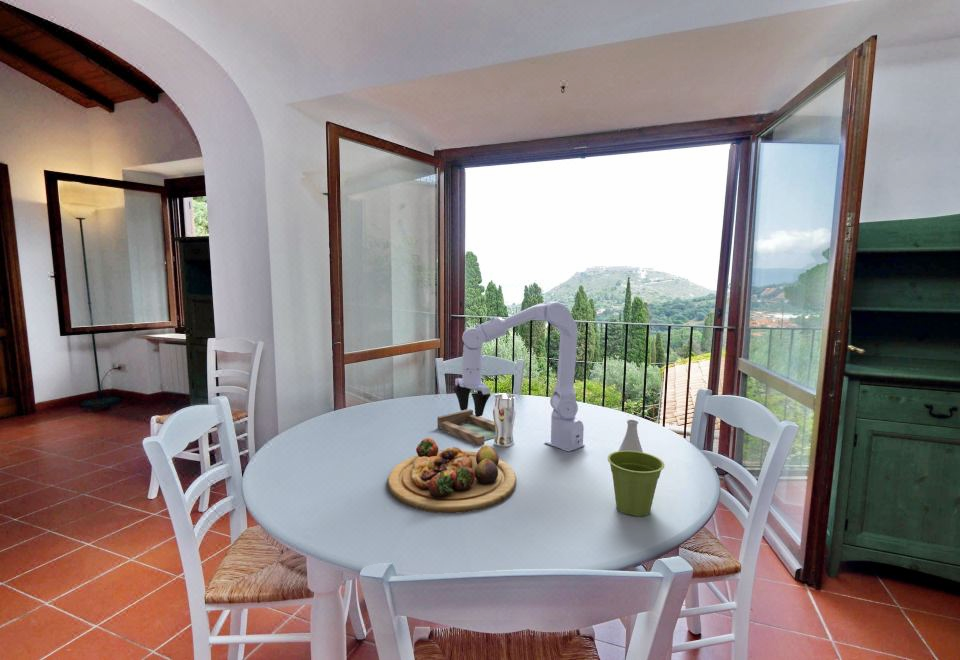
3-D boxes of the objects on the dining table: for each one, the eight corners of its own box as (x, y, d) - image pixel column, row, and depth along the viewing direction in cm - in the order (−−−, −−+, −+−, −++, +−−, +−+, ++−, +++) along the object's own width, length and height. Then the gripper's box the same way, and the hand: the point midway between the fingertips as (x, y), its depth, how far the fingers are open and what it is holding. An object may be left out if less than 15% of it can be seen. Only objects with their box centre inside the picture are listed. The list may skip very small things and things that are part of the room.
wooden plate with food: (378, 466, 126) (377, 437, 125) (488, 450, 137) (488, 423, 136) (401, 528, 96) (401, 491, 95) (539, 502, 108) (539, 468, 106)
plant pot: (595, 508, 103) (597, 460, 102) (622, 492, 112) (624, 446, 110) (646, 529, 95) (648, 476, 94) (671, 509, 103) (673, 460, 102)
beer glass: (515, 440, 147) (516, 393, 145) (514, 448, 140) (515, 399, 138) (493, 439, 147) (494, 392, 146) (491, 447, 140) (492, 398, 139)
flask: (615, 456, 134) (617, 422, 133) (620, 448, 141) (622, 416, 140) (641, 460, 131) (643, 426, 130) (645, 452, 137) (647, 419, 136)
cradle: (511, 435, 151) (512, 423, 151) (478, 445, 142) (478, 432, 141) (470, 420, 167) (470, 409, 166) (437, 428, 157) (437, 416, 157)
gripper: (447, 365, 142) (446, 409, 143) (476, 374, 130) (475, 421, 132) (466, 363, 146) (465, 405, 147) (495, 371, 134) (494, 417, 136)
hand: (471, 412), depth 140 cm, fingers open, 7 cm apart
